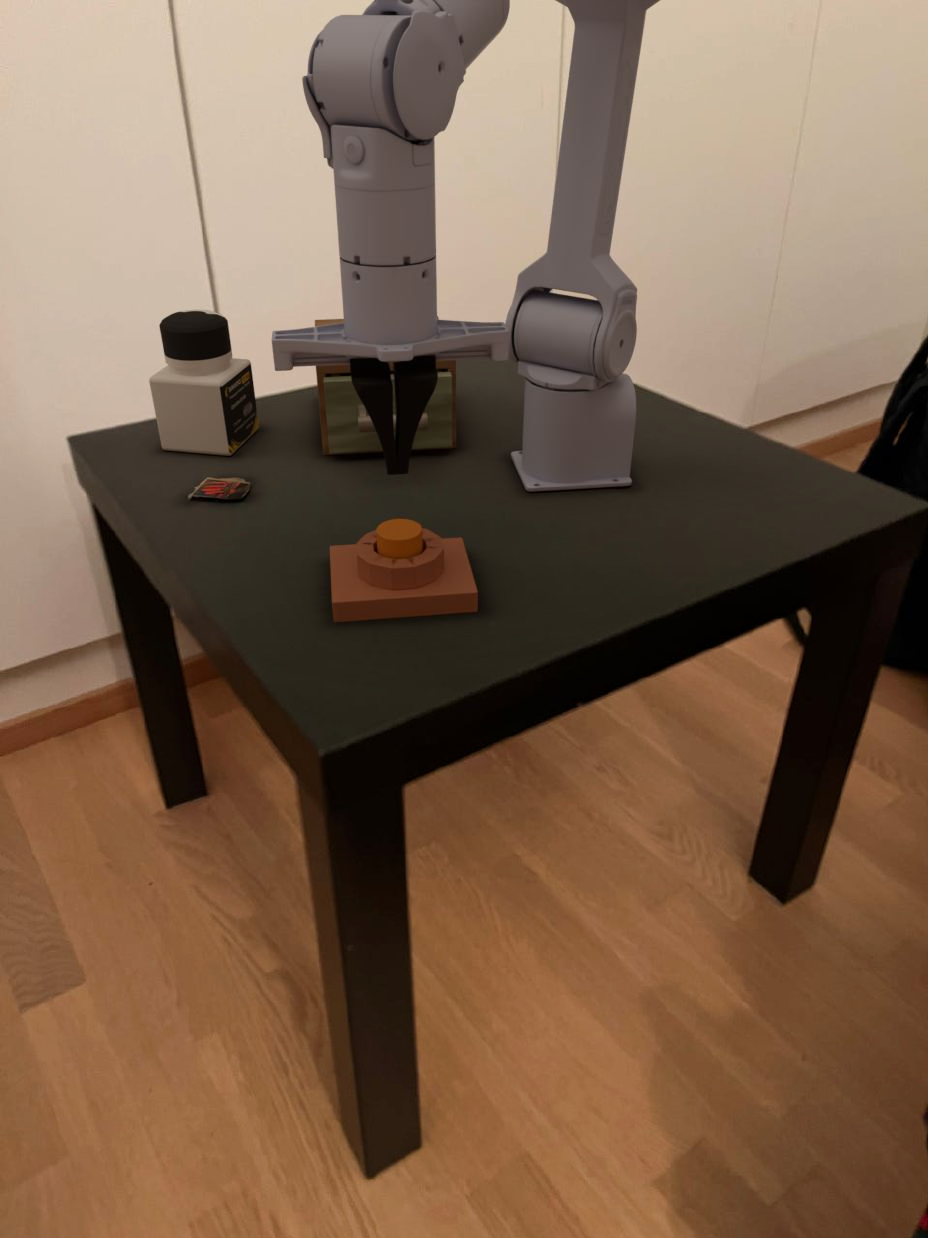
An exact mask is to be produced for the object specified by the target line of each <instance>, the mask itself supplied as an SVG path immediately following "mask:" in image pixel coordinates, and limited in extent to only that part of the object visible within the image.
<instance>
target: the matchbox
mask: <svg viewBox="0 0 928 1238" xmlns="http://www.w3.org/2000/svg"><path fill="white" fill-rule="evenodd" d="M193 488H194V491H193V492H191V493H189V494H188V496H187V501H191V499H193V497H196V498H200V497H202V498H215V499H223V500H242V499H243V498H244V497H245V496H246V494H247V493H248V492H249V490H250V489H251V482H249V481H246V480H245V478H240V476H239V477H238V476H237V477H226V478H223V477H221V478H214V477H206V478H204V480H202V482H200V484H199V485H197V486H194V487H193ZM214 502H218V500H214Z"/></svg>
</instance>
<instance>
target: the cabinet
mask: <svg viewBox="0 0 928 1238" xmlns="http://www.w3.org/2000/svg"><path fill="white" fill-rule="evenodd" d="M437 320H440V318H439V316H438V315H437ZM338 323H344V318H331V319H330V318H328V319H314V327H316V326H323V325H330V324H338ZM389 367H390V371H394V369H393V363H389ZM436 369H441V372H450V373H451V375H452V447H440V448H422V449H412V450H411V452H413V451H429V450H430V451H431V450H432V451H433V450H448V449H457V360H439V361H436ZM315 373H316V385H317V397H318V408H319V409H318V410H319V421H320V432H321V443H322V453H323V456H337V455H339V456H340V455H355V454H358V455H359V454H375V453H383V451H366V452H347V453H329V441H328V429H327V417H326V405H325V393H324V380H323V378H324V377H331V374H333V373H351V371H350V364H346V365H322V366H315Z"/></svg>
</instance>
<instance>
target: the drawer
mask: <svg viewBox="0 0 928 1238" xmlns="http://www.w3.org/2000/svg"><path fill="white" fill-rule="evenodd" d="M437 372H438V380H437V384H436V387H435V390H434V392H433V394H432V396H431V398H430V400H429V402H428V404H427V406H426V408H425V410H424V412H423V415H422V417H421V420H420V422H419V425H418V428H417V431H416V434H415V438H414V441H413V445H412V449H422V448H440V447H452V375H451V373H450V372H441V369H437ZM323 380H324V393H325V405H326V417H327V429H328V441H329V453H347V452H366V451H383V449H382V446H381V443H380V440H379V437H378V435H377V432H376V430H375V427H374V425H373V423H372V421H371V418H370V416H369V414H368V412H367V410H366V409H365V407H364V405H363V403H362V401H361V400H360V398H359V396H358V395H357V393H356V390H355V388H354V386H353V384H352V380H351V373H333V374H331V377H324V378H323ZM391 381H392V385H393V428H394V438H395V427H396V403H395V385H394V371H391Z"/></svg>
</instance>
